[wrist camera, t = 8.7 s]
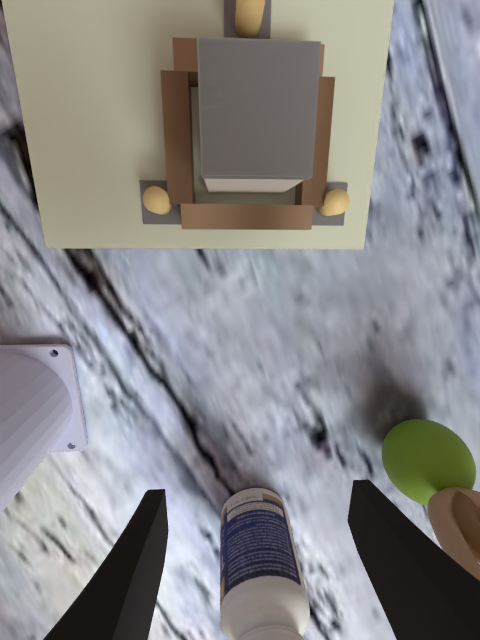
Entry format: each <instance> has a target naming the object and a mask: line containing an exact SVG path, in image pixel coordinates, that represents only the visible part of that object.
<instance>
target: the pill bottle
mask: <svg viewBox="0 0 480 640" xmlns="http://www.w3.org/2000/svg"><path fill="white" fill-rule="evenodd" d="M220 537H221V538H220V540H221V548H220V550H221V551H220V614H221V624H222V628H223V631H224V633H225V635H226V637H227V638H228V639H229V640H304V639H303V637H302V635H303V634H304V633H305V631H306V629H307V626H308V623H309V618H310V609H309V603H308V597H307V593H306V589H305V585H304V581H303V577H302V573H301V568H300V564H299V560H298V556H297V551H296V547H295V543H294V539H293V534H292V530H291V526H290V521H289V517H288V513H287V510H286V507H285V504H284V502H283V501H282V499H281V498H280V497H279V496H278V495H277V494H276V493H274V492H272V491H270V490H268V489H263V488H250V489H245V490H242V491H240V492H237V493H236V494H234V495H233V496H231V497H230V498H229V499H228V500H227V501H226V503H225V504H224V506H223V509H222V512H221V535H220Z"/></svg>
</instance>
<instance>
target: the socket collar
mask: <svg viewBox="0 0 480 640" xmlns="http://www.w3.org/2000/svg"><path fill="white" fill-rule="evenodd" d="M172 40H173V60H174V71H167V70H160V74H161V91H162V108H163V124H164V141H165V158H166V174H167V191H168V197H169V204H170V205H172V206H181V224H182V229H218V230H311V229H312V215H313V208H316V207H320V206H324V200H325V196H326V184H327V172H328V160H329V148H330V135H331V123H332V111H333V99H334V87H335V77H323V62H324V48H325V44H321V53H320V69H319V84H318V100H317V115H316V131H315V146H314V162H313V177H312V178H310V179H308V180H303V181H302V182H300V183H298V184H297V185H296V191H295V205H242V204H195V187H194V159H193V131H192V102H191V87H198V58H197V38H176V37H172Z"/></svg>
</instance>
